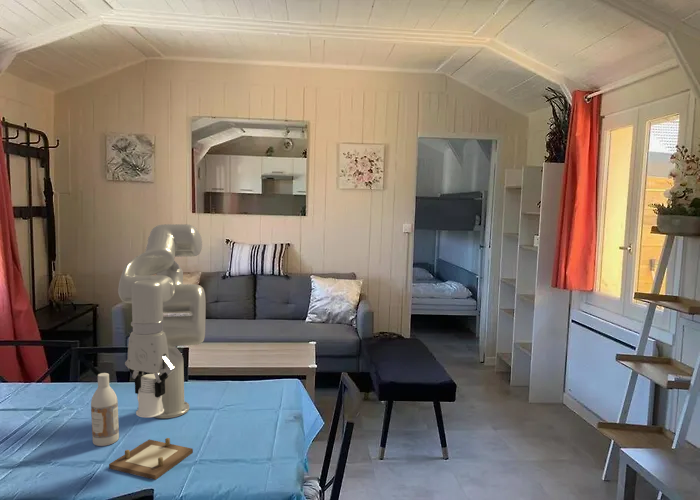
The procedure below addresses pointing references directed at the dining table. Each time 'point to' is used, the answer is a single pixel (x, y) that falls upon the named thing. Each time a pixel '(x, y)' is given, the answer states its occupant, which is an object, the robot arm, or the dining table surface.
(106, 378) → the bath foam
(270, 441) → the dining table surface
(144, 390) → the downlight
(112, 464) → the pin board
